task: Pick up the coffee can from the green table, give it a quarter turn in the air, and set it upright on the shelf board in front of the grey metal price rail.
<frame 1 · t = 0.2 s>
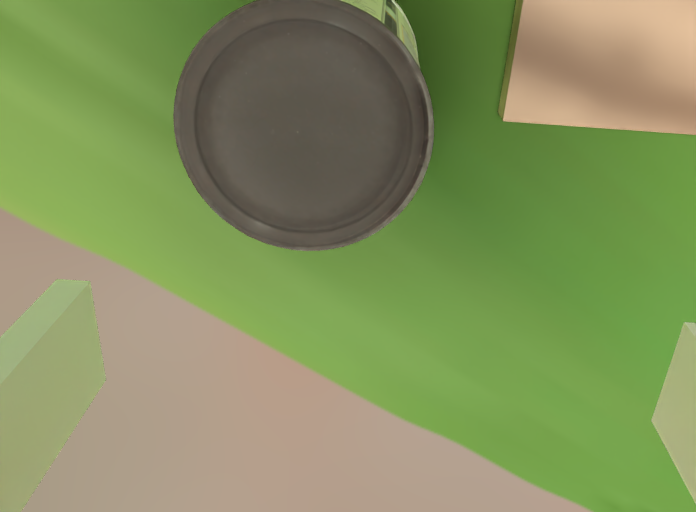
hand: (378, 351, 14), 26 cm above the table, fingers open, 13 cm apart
coffee can: (333, 65, 38), on the table
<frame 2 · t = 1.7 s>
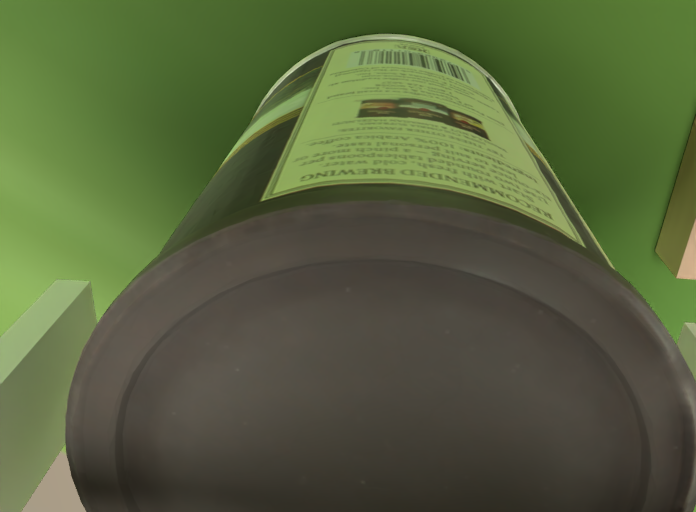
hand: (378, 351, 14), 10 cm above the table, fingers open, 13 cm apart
coffee can: (385, 180, 23), on the table
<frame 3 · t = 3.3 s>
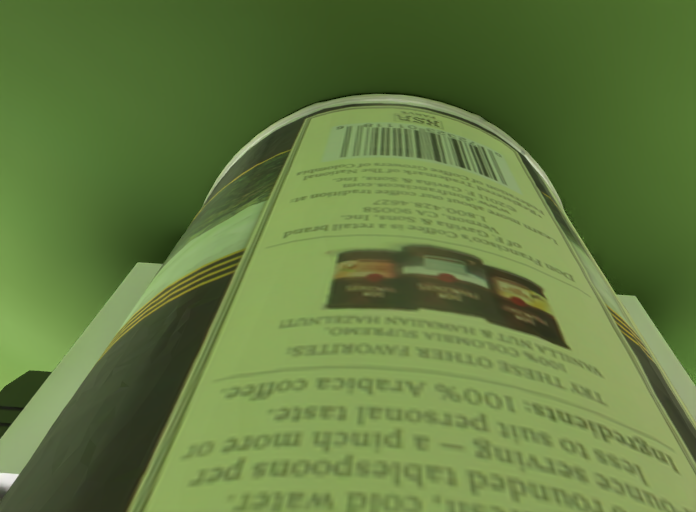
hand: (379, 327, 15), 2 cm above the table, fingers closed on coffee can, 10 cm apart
coffee can: (382, 278, 18), on the table, touching gripper
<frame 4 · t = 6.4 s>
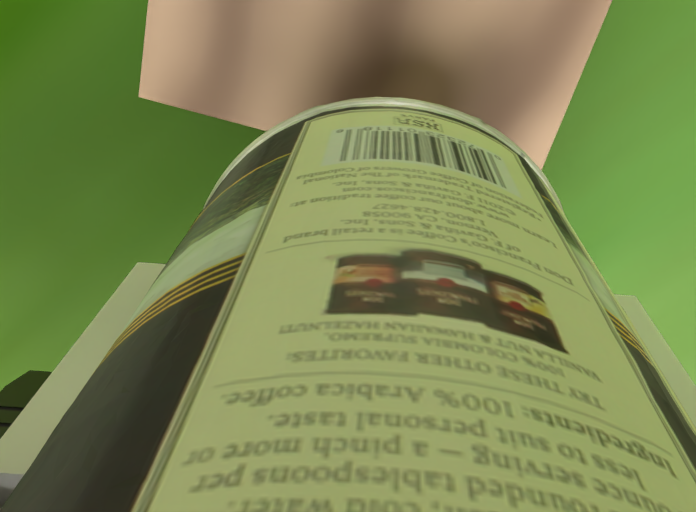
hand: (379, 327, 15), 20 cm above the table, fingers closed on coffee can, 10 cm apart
coffee can: (382, 280, 18), point 17 cm above the table, touching gripper
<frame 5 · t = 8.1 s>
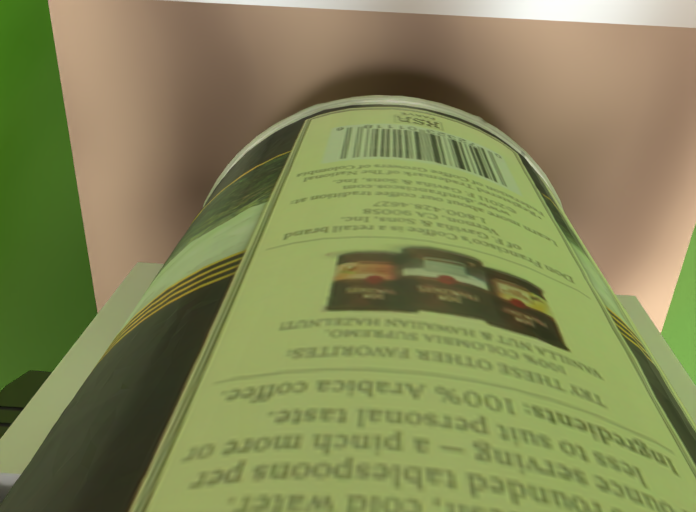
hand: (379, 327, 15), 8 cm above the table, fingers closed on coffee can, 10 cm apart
shelf board: (382, 173, 22), on the table
coffee can: (382, 279, 18), point 6 cm above the table, touching gripper
when the fingers open (6 cm above the table, at t = 9.6 s): coffee can drops 1 cm, resting on shelf board.
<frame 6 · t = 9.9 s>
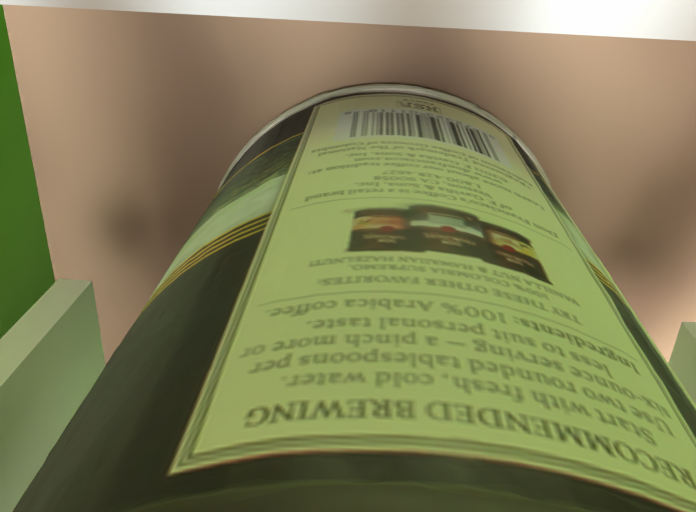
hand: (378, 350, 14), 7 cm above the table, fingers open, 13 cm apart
shelf board: (384, 200, 20), on the table
coffee can: (384, 257, 19), point 2 cm above the table, touching shelf board
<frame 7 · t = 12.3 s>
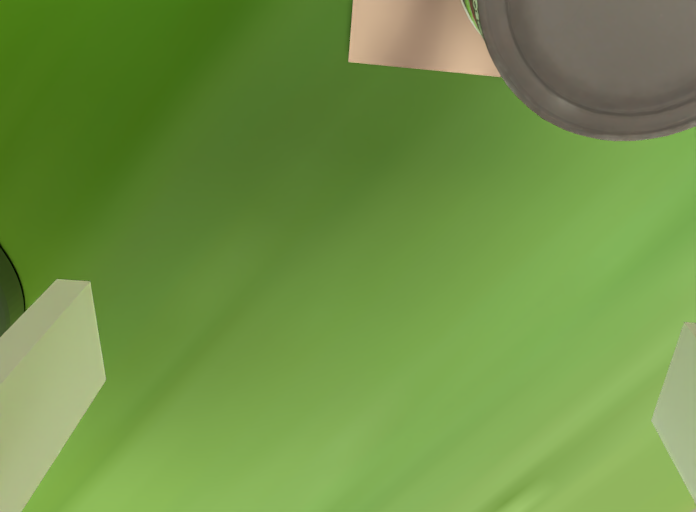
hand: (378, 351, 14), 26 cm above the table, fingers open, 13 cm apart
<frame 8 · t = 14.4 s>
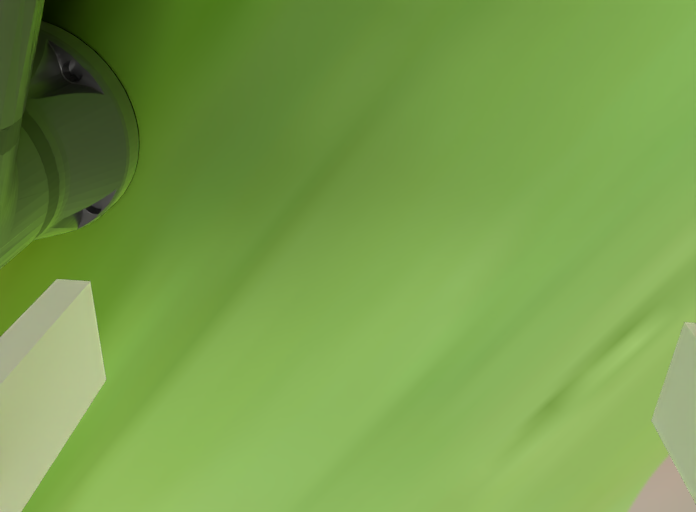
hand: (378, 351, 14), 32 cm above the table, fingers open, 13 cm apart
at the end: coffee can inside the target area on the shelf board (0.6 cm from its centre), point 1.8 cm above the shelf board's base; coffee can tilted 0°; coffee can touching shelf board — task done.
